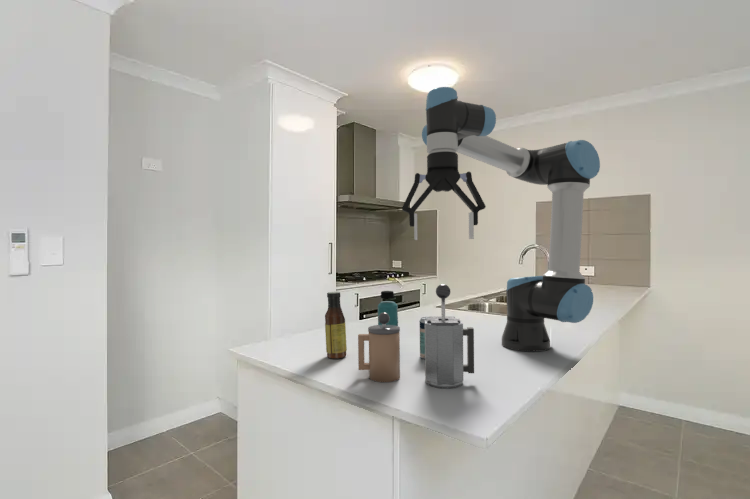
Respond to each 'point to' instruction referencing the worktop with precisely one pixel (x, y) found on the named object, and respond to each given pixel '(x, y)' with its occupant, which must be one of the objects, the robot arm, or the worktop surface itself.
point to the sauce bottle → (335, 328)
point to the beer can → (422, 336)
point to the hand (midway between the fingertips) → (443, 239)
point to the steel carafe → (447, 352)
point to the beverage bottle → (388, 308)
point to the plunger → (443, 297)
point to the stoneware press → (381, 351)
